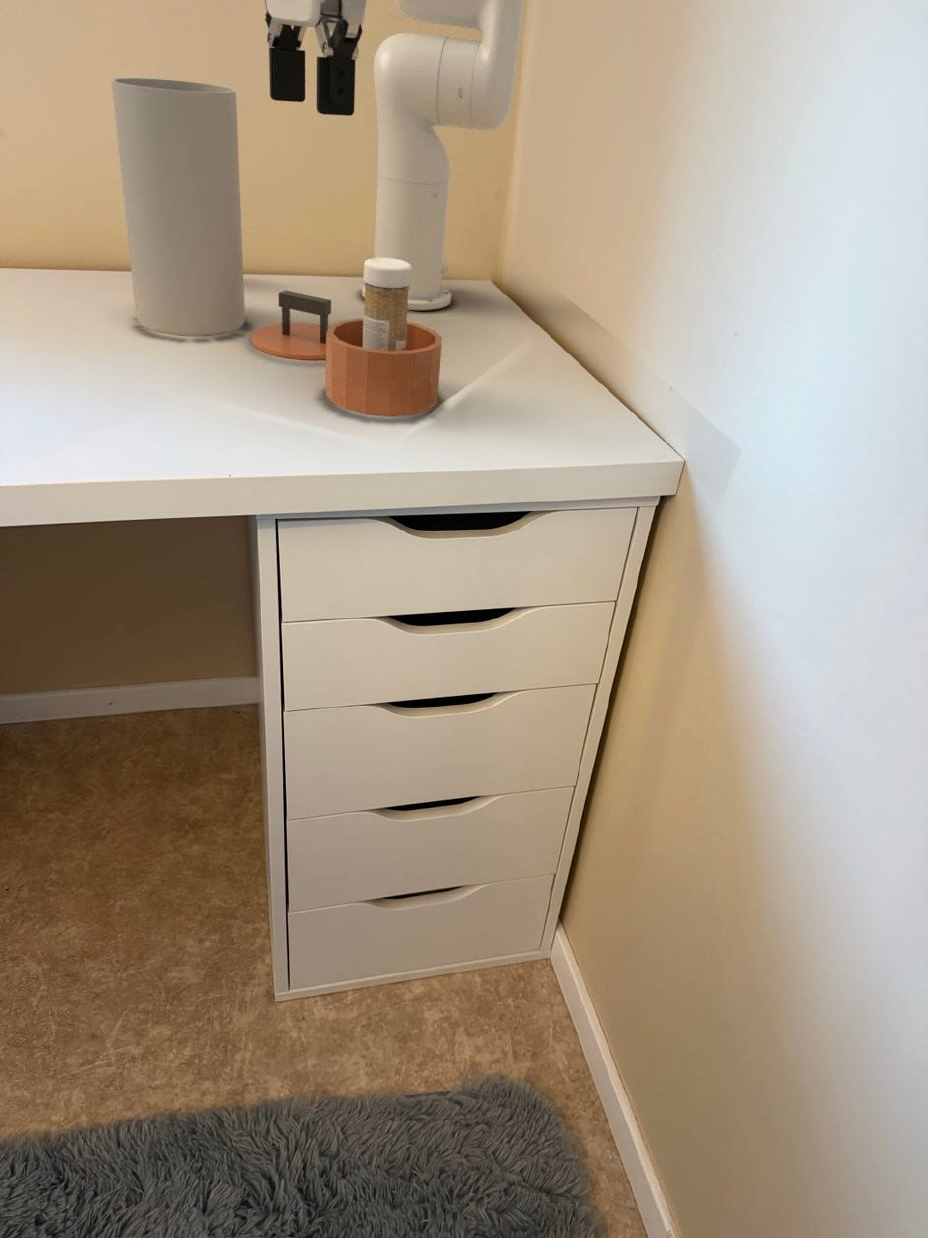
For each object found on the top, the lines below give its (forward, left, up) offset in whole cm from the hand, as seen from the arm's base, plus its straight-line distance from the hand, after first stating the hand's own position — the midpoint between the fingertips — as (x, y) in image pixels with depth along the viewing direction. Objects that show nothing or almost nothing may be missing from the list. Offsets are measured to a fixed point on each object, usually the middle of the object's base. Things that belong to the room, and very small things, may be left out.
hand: (310, 107), depth 78 cm
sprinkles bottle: (-3, +6, -26) cm, 27 cm away
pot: (-3, +6, -26) cm, 27 cm away
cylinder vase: (-12, -24, -26) cm, 37 cm away
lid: (-13, -9, -25) cm, 30 cm away
